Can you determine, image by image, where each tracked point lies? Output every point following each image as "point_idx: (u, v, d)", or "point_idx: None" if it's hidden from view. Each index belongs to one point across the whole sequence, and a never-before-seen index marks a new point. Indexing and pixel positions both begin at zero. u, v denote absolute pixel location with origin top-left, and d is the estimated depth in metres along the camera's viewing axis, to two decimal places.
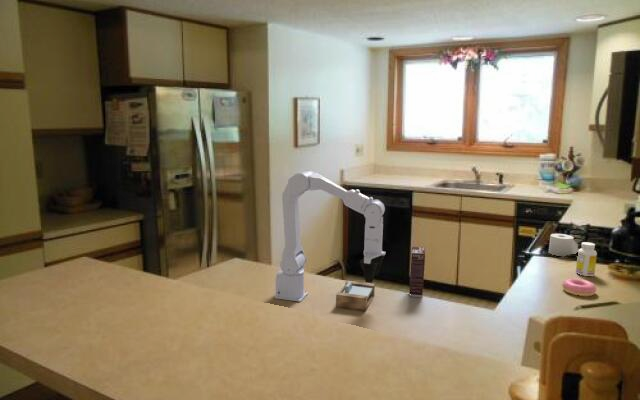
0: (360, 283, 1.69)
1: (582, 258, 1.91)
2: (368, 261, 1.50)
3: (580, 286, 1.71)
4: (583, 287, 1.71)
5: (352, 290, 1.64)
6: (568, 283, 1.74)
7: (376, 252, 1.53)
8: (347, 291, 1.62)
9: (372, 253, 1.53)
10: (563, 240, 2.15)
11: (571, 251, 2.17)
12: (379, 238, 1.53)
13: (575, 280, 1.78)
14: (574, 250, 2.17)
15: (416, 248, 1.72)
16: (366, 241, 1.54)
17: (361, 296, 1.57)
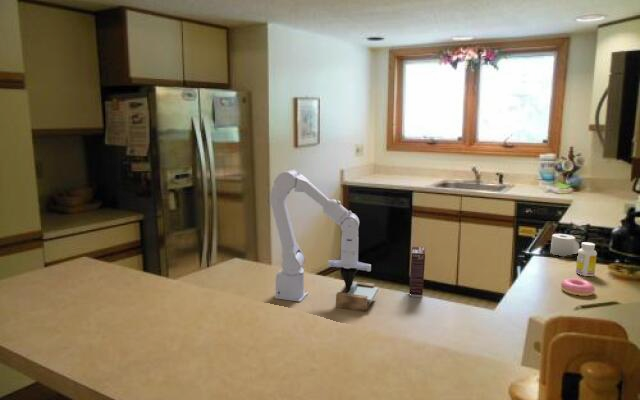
0: (360, 283, 1.69)
1: (582, 258, 1.91)
2: None
3: (578, 286, 1.71)
4: (581, 287, 1.71)
5: (357, 291, 1.63)
6: (566, 283, 1.75)
7: (341, 262, 1.62)
8: (352, 292, 1.61)
9: (340, 262, 1.63)
10: (565, 240, 2.15)
11: (573, 251, 2.17)
12: (356, 250, 1.60)
13: (573, 280, 1.78)
14: (576, 250, 2.17)
15: (416, 248, 1.72)
16: None
17: (361, 296, 1.57)
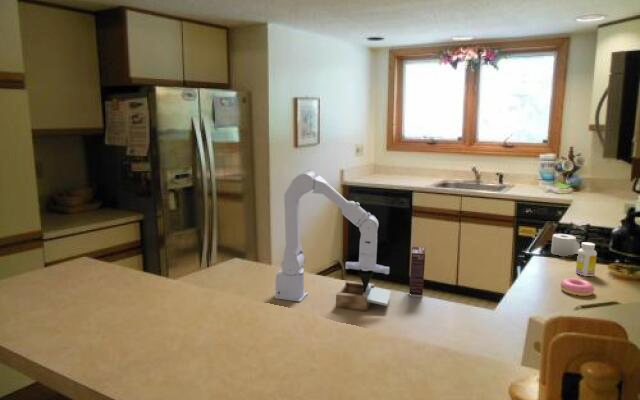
0: (360, 283, 1.69)
1: (582, 258, 1.91)
2: None
3: (578, 286, 1.71)
4: (581, 287, 1.71)
5: (371, 293, 1.62)
6: (566, 283, 1.75)
7: (359, 264, 1.60)
8: (367, 293, 1.60)
9: (358, 264, 1.61)
10: (565, 240, 2.15)
11: (573, 251, 2.17)
12: (374, 252, 1.58)
13: (573, 280, 1.78)
14: (576, 250, 2.17)
15: (416, 248, 1.72)
16: None
17: (361, 296, 1.57)
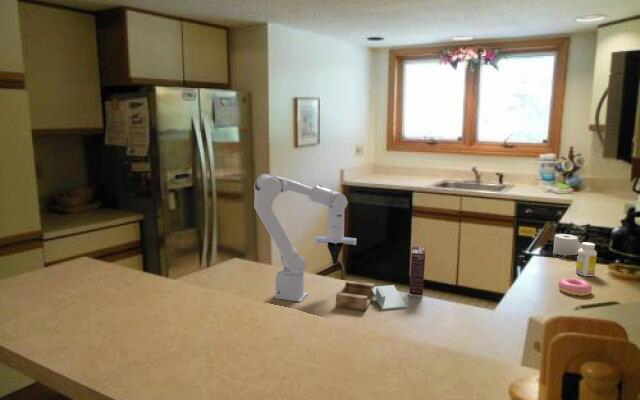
0: (360, 283, 1.69)
1: (582, 258, 1.91)
2: None
3: (576, 286, 1.72)
4: (579, 287, 1.71)
5: None
6: (564, 283, 1.75)
7: (328, 237, 1.69)
8: (383, 300, 1.60)
9: (327, 237, 1.70)
10: (567, 240, 2.15)
11: (576, 251, 2.16)
12: (343, 225, 1.68)
13: (571, 280, 1.78)
14: None
15: (416, 248, 1.72)
16: None
17: (361, 296, 1.57)
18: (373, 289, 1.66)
